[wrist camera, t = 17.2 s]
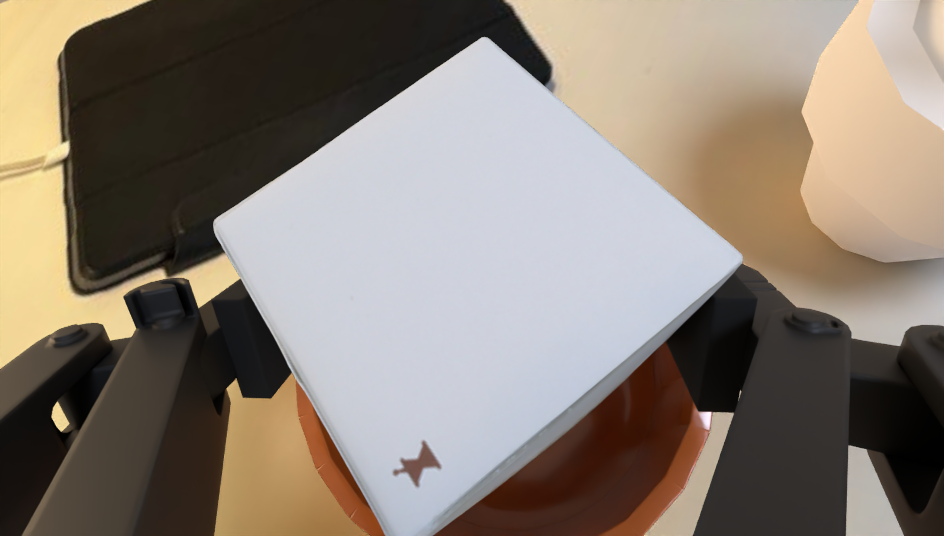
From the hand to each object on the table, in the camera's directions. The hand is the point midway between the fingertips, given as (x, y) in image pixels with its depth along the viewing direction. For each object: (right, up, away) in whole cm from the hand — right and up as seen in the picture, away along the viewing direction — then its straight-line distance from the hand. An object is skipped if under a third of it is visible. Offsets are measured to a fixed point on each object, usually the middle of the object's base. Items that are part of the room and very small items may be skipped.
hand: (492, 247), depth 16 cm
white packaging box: (+1, -5, +4) cm, 6 cm away
